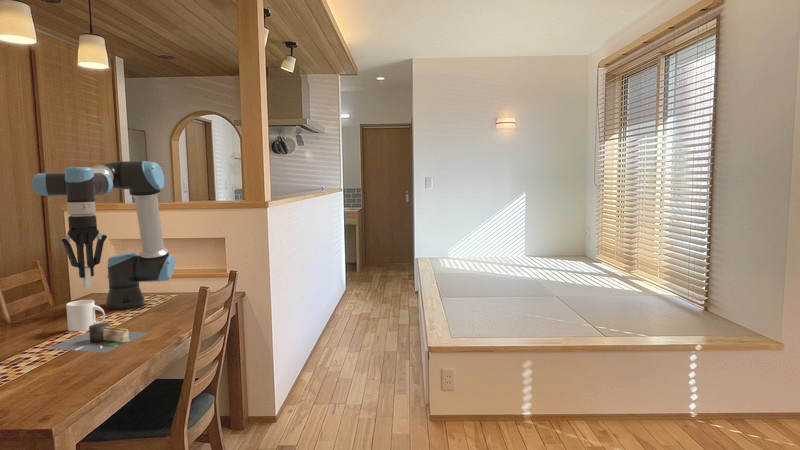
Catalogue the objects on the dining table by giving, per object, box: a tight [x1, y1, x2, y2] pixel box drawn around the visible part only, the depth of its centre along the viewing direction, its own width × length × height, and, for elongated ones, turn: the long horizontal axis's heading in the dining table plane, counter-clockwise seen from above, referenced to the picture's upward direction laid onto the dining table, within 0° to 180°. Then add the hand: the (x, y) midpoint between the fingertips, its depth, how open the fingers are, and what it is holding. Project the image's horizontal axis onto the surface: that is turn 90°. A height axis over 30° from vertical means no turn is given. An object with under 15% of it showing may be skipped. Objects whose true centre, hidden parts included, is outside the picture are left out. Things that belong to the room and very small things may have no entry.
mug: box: [65, 299, 106, 332], centre depth 175 cm, size 9×12×11 cm
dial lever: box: [88, 322, 130, 343], centre depth 160 cm, size 15×6×5 cm, turn 74°
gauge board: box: [47, 330, 149, 354], centre depth 161 cm, size 20×22×1 cm
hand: (87, 286), depth 154 cm, fingers closed
